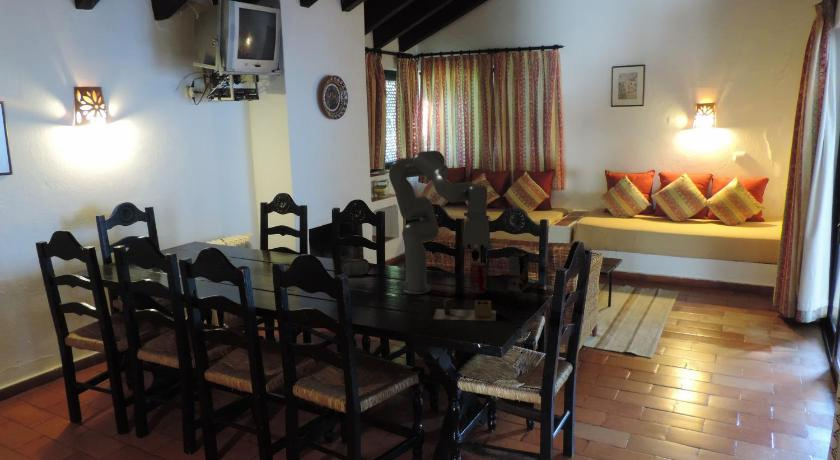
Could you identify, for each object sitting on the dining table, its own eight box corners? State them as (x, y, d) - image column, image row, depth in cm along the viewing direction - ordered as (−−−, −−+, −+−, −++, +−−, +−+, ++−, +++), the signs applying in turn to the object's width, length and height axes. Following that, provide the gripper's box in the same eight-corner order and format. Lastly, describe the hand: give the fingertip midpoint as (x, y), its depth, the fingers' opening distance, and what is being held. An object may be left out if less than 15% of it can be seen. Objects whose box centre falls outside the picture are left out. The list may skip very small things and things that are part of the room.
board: (433, 321, 233) (432, 305, 231) (436, 311, 244) (436, 295, 243) (495, 323, 229) (495, 306, 228) (495, 313, 241) (496, 297, 240)
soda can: (485, 294, 266) (485, 266, 264) (469, 293, 268) (469, 265, 265) (487, 290, 273) (487, 262, 271) (471, 289, 275) (471, 261, 272)
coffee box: (521, 292, 268) (521, 257, 265) (507, 290, 272) (508, 255, 269) (528, 287, 276) (529, 253, 273) (515, 285, 279) (516, 251, 276)
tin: (369, 273, 305) (369, 257, 304) (371, 275, 302) (370, 258, 301) (340, 276, 301) (339, 259, 300) (341, 277, 298) (340, 261, 297)
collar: (474, 317, 233) (474, 305, 232) (475, 312, 239) (475, 300, 238) (491, 318, 232) (491, 305, 231) (491, 312, 238) (491, 300, 237)
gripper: (457, 217, 238) (456, 261, 242) (495, 218, 236) (493, 263, 240) (458, 213, 245) (457, 256, 249) (495, 215, 243) (493, 258, 247)
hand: (475, 260), depth 245 cm, fingers closed
